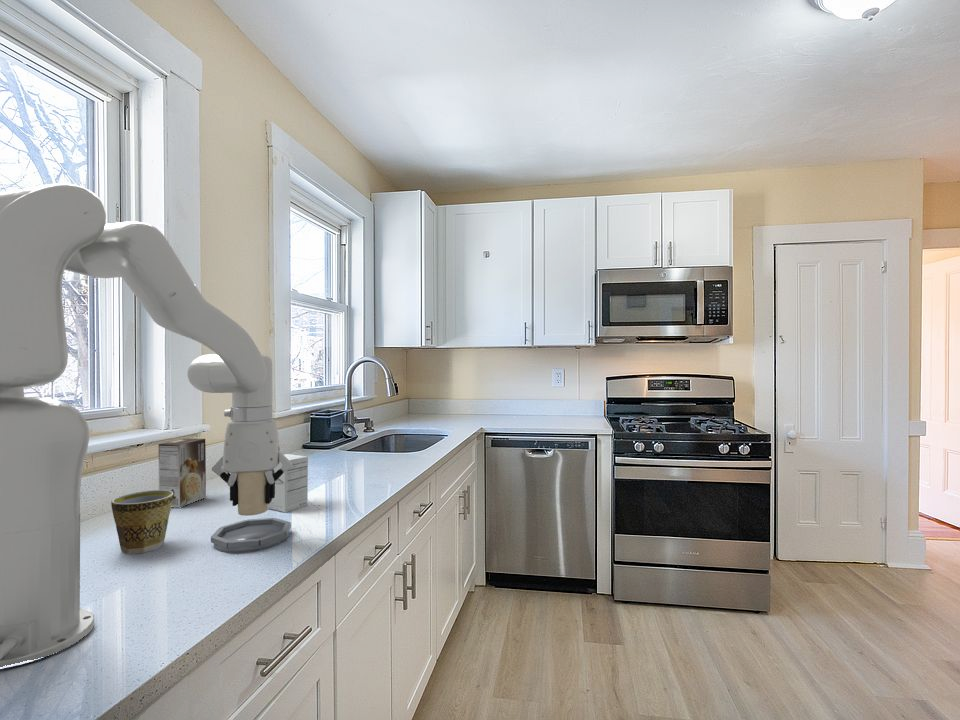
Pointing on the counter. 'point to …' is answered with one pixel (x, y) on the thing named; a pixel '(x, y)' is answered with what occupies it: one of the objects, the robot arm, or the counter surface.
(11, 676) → the counter surface
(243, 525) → the slate dish
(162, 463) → the coffee box
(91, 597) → the counter surface
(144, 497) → the ceramic cup
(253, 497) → the candle
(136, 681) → the counter surface
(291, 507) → the supplement box
